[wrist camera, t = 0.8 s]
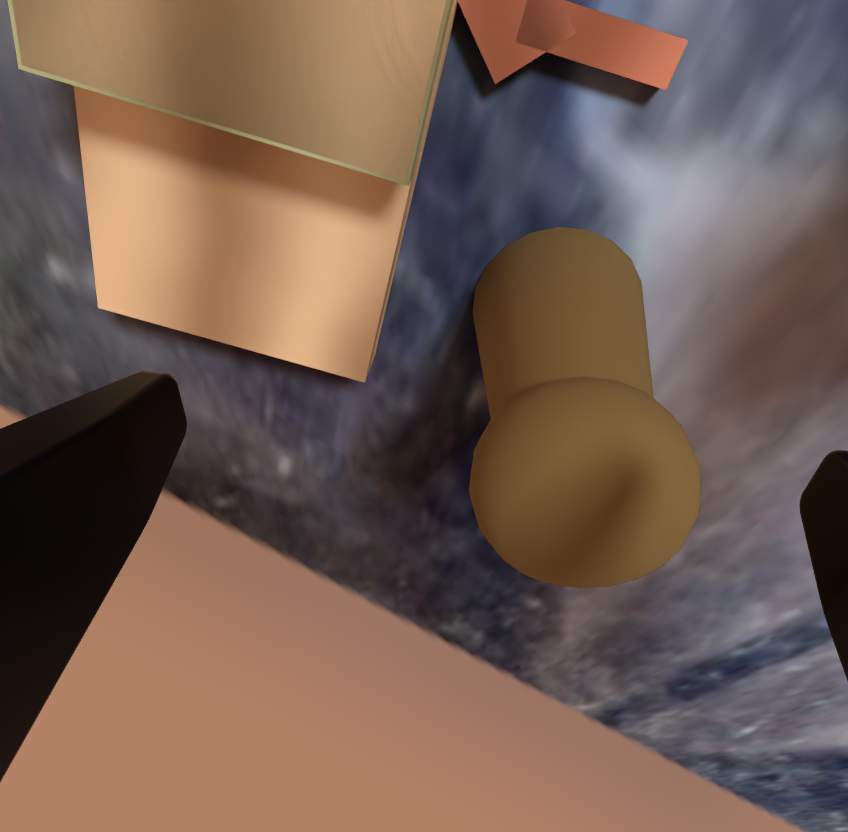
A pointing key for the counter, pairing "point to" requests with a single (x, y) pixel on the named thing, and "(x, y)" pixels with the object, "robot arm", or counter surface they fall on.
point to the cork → (575, 418)
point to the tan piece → (278, 147)
